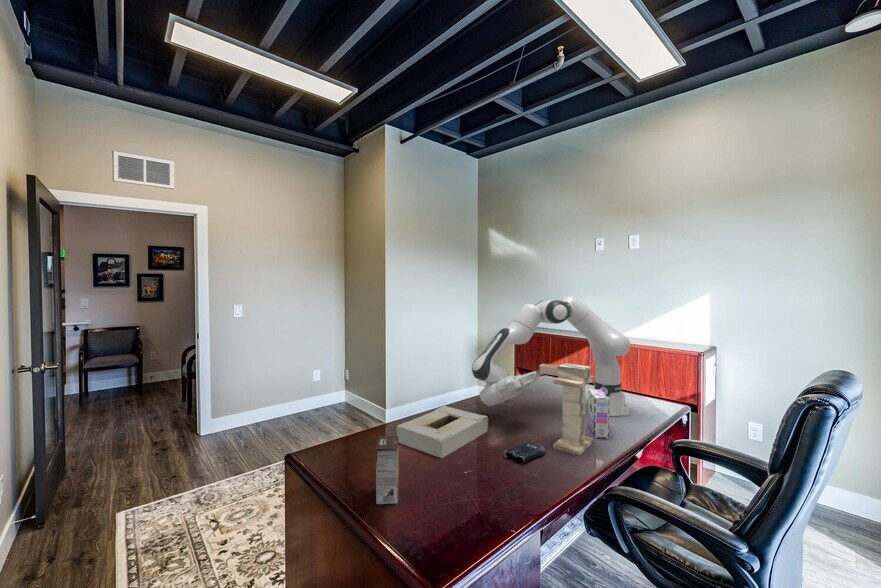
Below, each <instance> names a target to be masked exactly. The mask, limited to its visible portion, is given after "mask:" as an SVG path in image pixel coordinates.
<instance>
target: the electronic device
mask: <svg viewBox="0 0 881 588" xmlns="http://www.w3.org/2000/svg"><path fill="white" fill-rule="evenodd" d="M545 452H546V450H545V447H544V446H543V445H542V444H540V443H535V442H530V441H529V442H524V443H521V444H518V445H516V446H515V447H511V449H509V450H504V451H503V455H504V458H506V459H507V458H509V459H511V460H512V461H514V462H517V463H521V464H522V465H524V464H525V463H527V462H530V461H532V460H533V459H536V458H539V457H542V456H544V454H546V453H545ZM511 457H514V458H511ZM517 457H519V458H522V459H523V460H522V459H518V458H517Z"/></svg>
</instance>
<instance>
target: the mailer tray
mask: <svg viewBox="0 0 881 588" xmlns="http://www.w3.org/2000/svg"><path fill="white" fill-rule="evenodd" d="M558 366H559V365H554V364H549V363H548V364H547V363H542V364H540V365H539V364H538V372H539V373H543V375H551V376H557V377H558ZM587 378H588V370H587V371H585V379H587Z"/></svg>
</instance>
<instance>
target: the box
mask: <svg viewBox="0 0 881 588" xmlns="http://www.w3.org/2000/svg"><path fill="white" fill-rule="evenodd" d="M488 428H489V417H488V416H487V415H483V414H478V413H474V412H470V411H465V410H461V409H459V408H454V407H450V406H447V405H444V406H443V405H442V406H441V407H438V408H437V409H436V408H435V409H434V411H431V412H428V413H426V414H424V415H420V416H419V417H416V418H414V419H411V420H409V421H405V422H402V423H401V424H398V425H397V426H396V436H398V444H401V445H404V446H406V447H409V448H412V449H415V450H418V451H420V452H424V453H426V454H429V455H431V456H434V457H437V458H439V459H443V458H445V457H447V456H448V455H451V453H453V452H455V451H457V450H459V449H460V448H462V447H464V446H465V445H467V444H468V443H470V442H473V441H474V440H475V439H477V438H479V437H480V436H482V435H484V434H485V433H488V430H489V429H488Z"/></svg>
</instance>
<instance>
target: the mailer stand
mask: <svg viewBox="0 0 881 588" xmlns="http://www.w3.org/2000/svg"><path fill="white" fill-rule="evenodd" d="M557 366H558V376H557V377H555V378H553V381H552V383H553V385H558V386H562V436H561V437H560V438H559V439H558V440H556V441H555V442H554V443H553V444H552V448H553V449H555V450H558V451H562V452H566V453H569V454H572V455H576V456H581V455H582V454H583V453H584V452H585V451H586V450H587V449H588V448H589V447H590V446H591V445H592V444H593V443H594V442H595V440H594V437H593V438H592V437H589V436H586V386H587V385H588V384H590V383H591V382H593V381H595V375H591V374H592V373H591V372H592V371H591V370H592V369H591V368H592V367H591V366H590V365H584V364H583V365H582V364H575V363H568V362H564V363H562V364H560V365H559V364H558V365H557ZM587 370H588V378H587V379H585V371H587Z"/></svg>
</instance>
